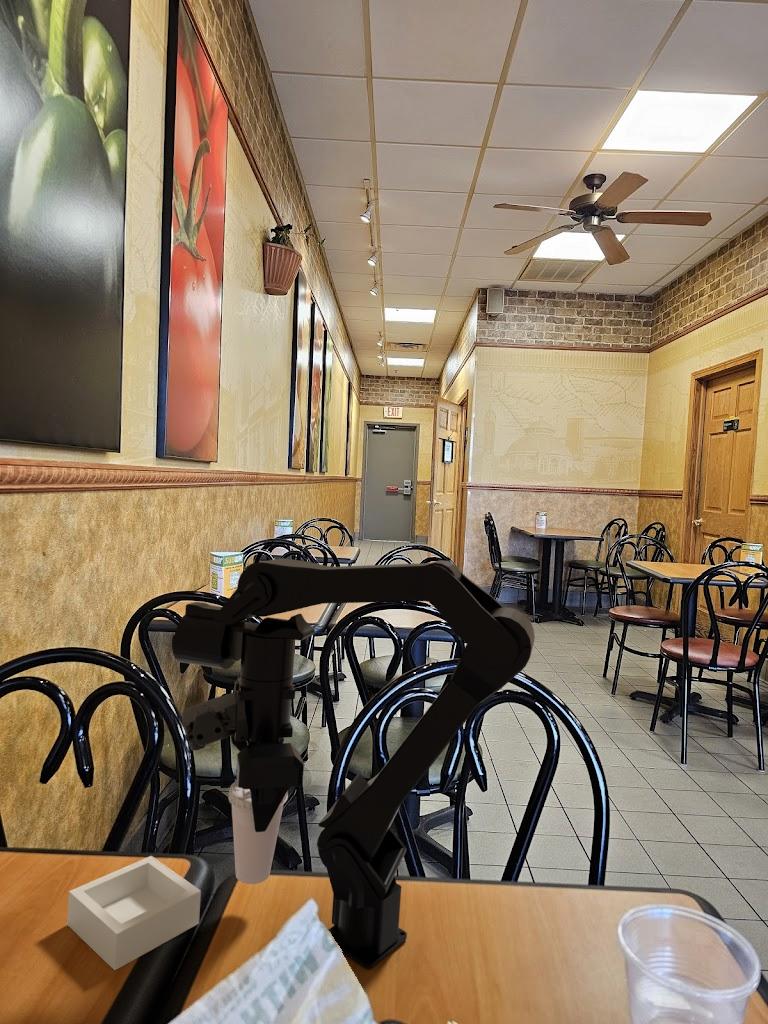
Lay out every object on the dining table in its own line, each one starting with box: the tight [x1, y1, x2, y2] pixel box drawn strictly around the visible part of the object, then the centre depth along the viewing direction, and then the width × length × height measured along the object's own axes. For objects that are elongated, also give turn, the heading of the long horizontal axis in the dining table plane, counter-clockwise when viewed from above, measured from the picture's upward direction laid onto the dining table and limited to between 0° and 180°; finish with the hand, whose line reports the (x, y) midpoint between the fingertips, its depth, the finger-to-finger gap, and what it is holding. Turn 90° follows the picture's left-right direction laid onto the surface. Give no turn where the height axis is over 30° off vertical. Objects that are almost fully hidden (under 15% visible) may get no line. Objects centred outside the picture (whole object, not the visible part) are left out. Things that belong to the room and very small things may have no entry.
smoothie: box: [227, 780, 289, 885], centre depth 71 cm, size 6×6×14 cm
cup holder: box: [66, 855, 202, 971], centre depth 68 cm, size 9×9×4 cm
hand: (257, 816), depth 71 cm, fingers closed on smoothie, 6 cm apart
